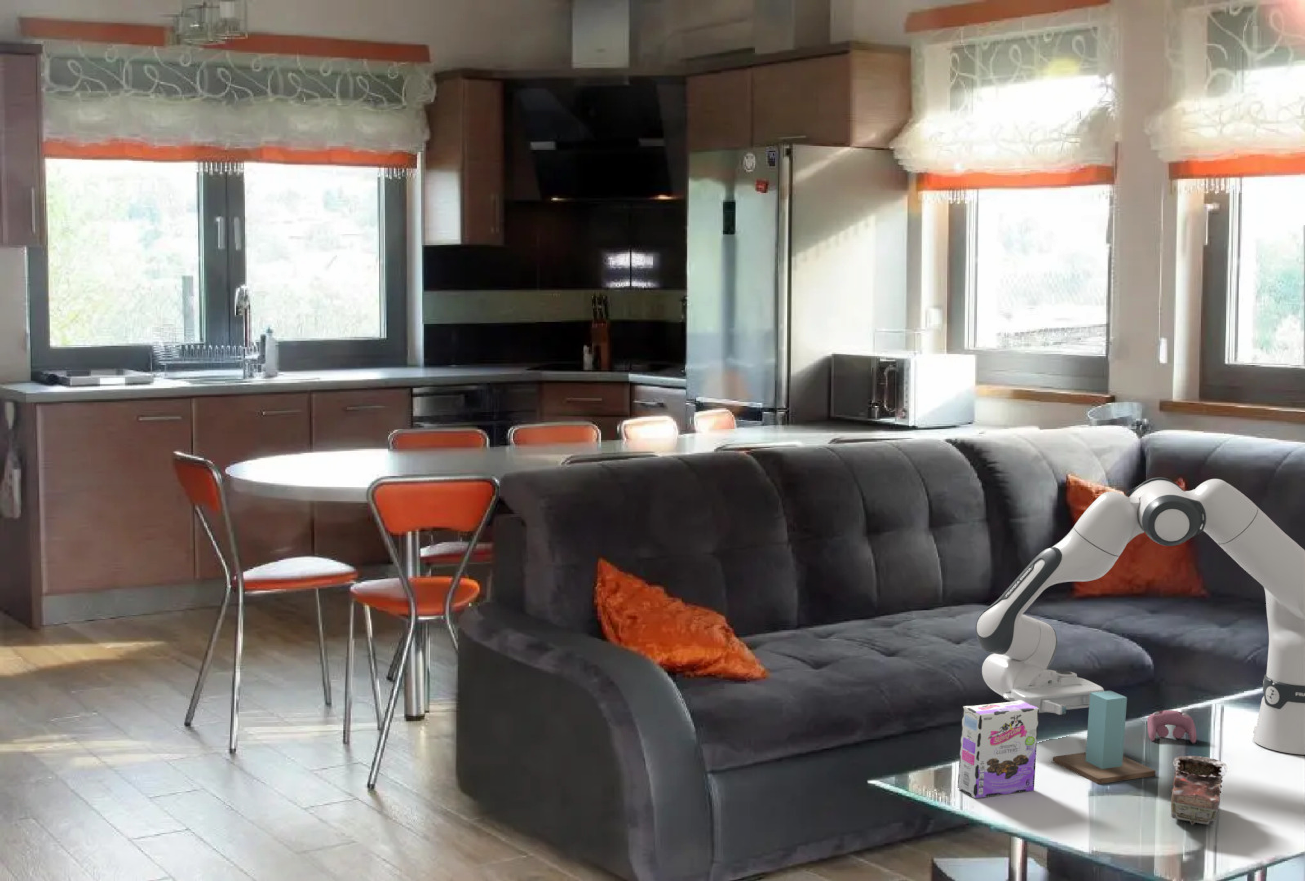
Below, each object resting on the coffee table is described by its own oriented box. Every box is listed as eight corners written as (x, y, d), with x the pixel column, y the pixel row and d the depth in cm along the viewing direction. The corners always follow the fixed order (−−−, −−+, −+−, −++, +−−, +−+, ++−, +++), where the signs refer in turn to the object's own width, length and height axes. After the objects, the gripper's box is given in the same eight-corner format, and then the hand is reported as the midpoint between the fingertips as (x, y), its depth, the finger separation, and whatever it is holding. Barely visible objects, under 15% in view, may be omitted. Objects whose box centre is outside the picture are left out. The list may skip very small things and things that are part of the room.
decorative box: (1247, 811, 311) (1251, 760, 309) (1232, 846, 293) (1237, 792, 292) (1174, 798, 316) (1178, 748, 315) (1155, 832, 299) (1159, 779, 297)
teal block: (1105, 758, 335) (1110, 690, 333) (1122, 766, 331) (1127, 697, 329) (1085, 761, 333) (1090, 692, 331) (1101, 769, 329) (1106, 699, 327)
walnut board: (1107, 753, 341) (1108, 749, 341) (1155, 775, 329) (1155, 770, 329) (1052, 761, 335) (1052, 756, 335) (1098, 783, 323) (1098, 778, 323)
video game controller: (1193, 746, 353) (1192, 713, 355) (1198, 743, 349) (1197, 709, 351) (1145, 743, 354) (1144, 710, 356) (1149, 740, 350) (1149, 706, 352)
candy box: (974, 799, 312) (979, 714, 310) (956, 789, 318) (961, 705, 315) (1035, 791, 318) (1040, 707, 316) (1016, 781, 323) (1021, 698, 321)
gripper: (999, 679, 345) (1041, 697, 332) (1078, 671, 353) (1122, 688, 341) (997, 709, 346) (1039, 728, 333) (1076, 700, 354) (1120, 718, 342)
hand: (1082, 708), depth 337 cm, fingers open, 8 cm apart
